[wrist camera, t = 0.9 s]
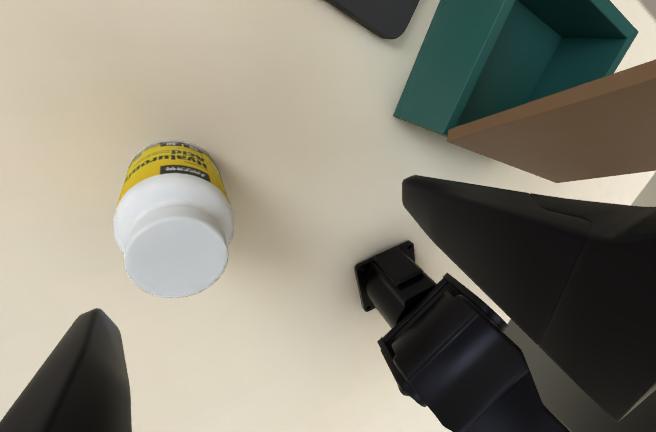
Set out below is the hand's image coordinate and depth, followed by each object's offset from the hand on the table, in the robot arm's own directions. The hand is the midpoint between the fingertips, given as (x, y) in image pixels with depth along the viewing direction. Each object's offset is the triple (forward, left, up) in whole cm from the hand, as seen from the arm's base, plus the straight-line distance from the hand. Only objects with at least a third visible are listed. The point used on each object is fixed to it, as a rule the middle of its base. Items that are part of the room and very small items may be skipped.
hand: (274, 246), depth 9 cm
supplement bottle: (-2, +4, -15) cm, 15 cm away
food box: (-2, -22, -15) cm, 27 cm away
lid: (-4, -21, -3) cm, 21 cm away
